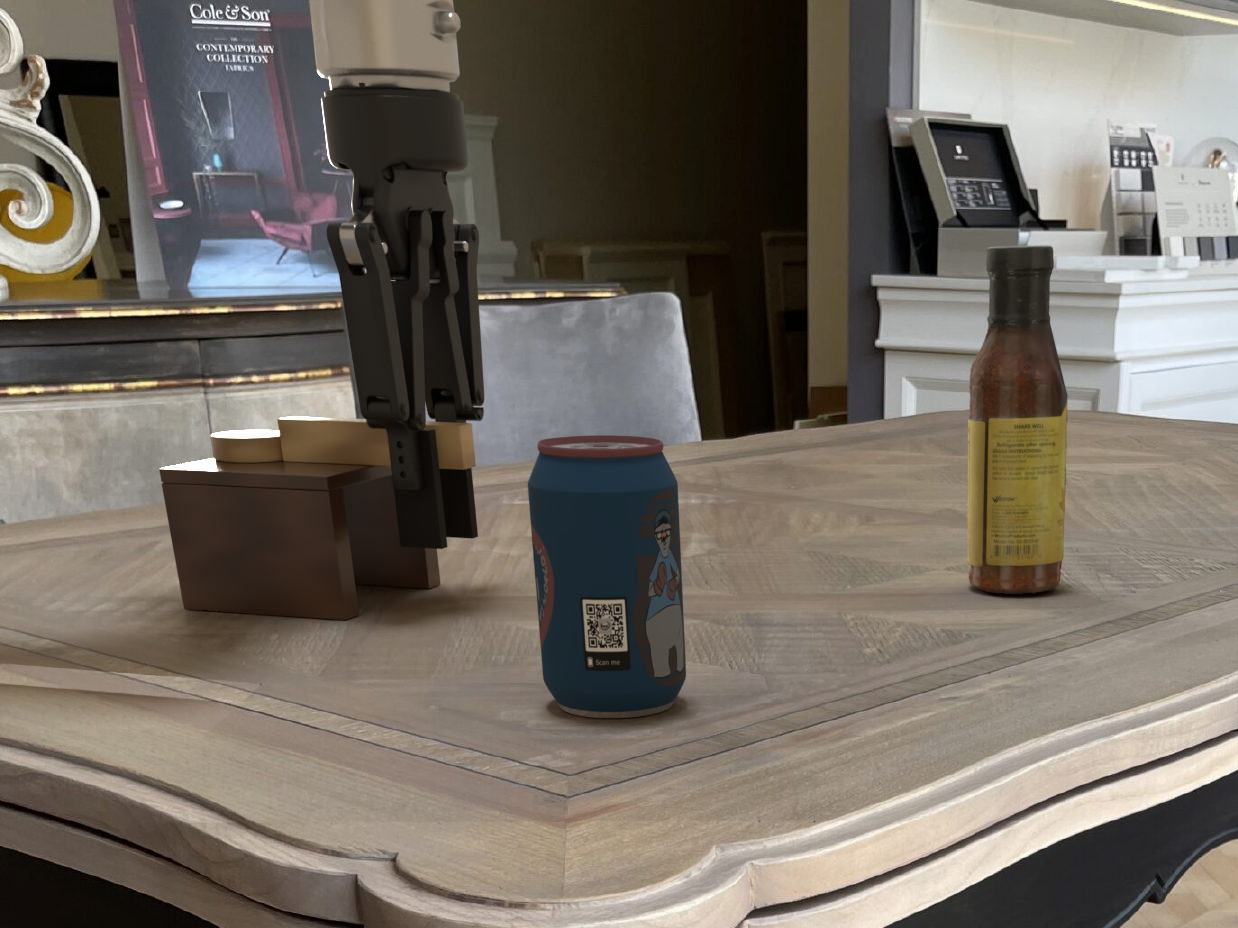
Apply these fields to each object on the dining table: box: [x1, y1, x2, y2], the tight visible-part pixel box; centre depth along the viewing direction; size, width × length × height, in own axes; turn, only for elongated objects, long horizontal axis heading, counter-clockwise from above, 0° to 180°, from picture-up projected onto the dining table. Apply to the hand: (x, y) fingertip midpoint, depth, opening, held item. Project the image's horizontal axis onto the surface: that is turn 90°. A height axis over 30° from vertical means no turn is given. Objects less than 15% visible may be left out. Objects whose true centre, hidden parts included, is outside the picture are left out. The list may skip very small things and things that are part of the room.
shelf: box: [159, 457, 442, 621], centre depth 105 cm, size 11×12×8 cm
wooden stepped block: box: [210, 415, 477, 470], centre depth 102 cm, size 17×5×2 cm, turn 75°
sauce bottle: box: [967, 244, 1069, 595], centre depth 106 cm, size 7×6×20 cm
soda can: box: [527, 434, 687, 719], centre depth 81 cm, size 7×7×12 cm
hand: (439, 540), depth 103 cm, fingers open, 3 cm apart
